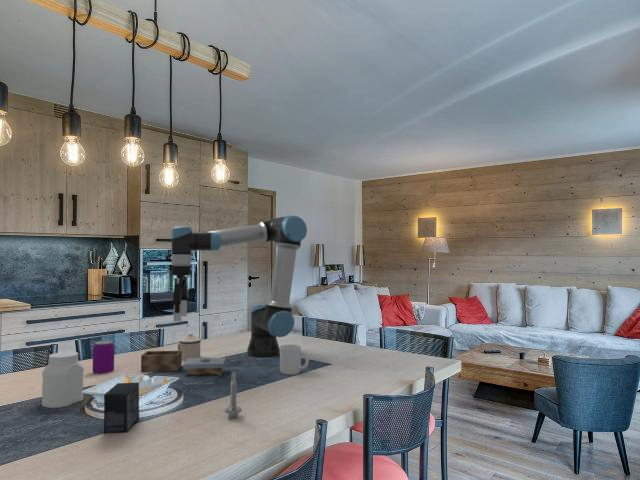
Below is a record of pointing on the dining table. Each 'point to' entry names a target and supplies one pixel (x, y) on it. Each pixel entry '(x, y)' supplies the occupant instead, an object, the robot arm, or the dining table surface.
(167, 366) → the walnut box
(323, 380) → the dining table surface
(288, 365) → the mug
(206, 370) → the block
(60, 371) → the jar
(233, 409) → the screw
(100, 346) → the beverage can
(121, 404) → the small box
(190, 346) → the teacup with lid
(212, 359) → the lid
